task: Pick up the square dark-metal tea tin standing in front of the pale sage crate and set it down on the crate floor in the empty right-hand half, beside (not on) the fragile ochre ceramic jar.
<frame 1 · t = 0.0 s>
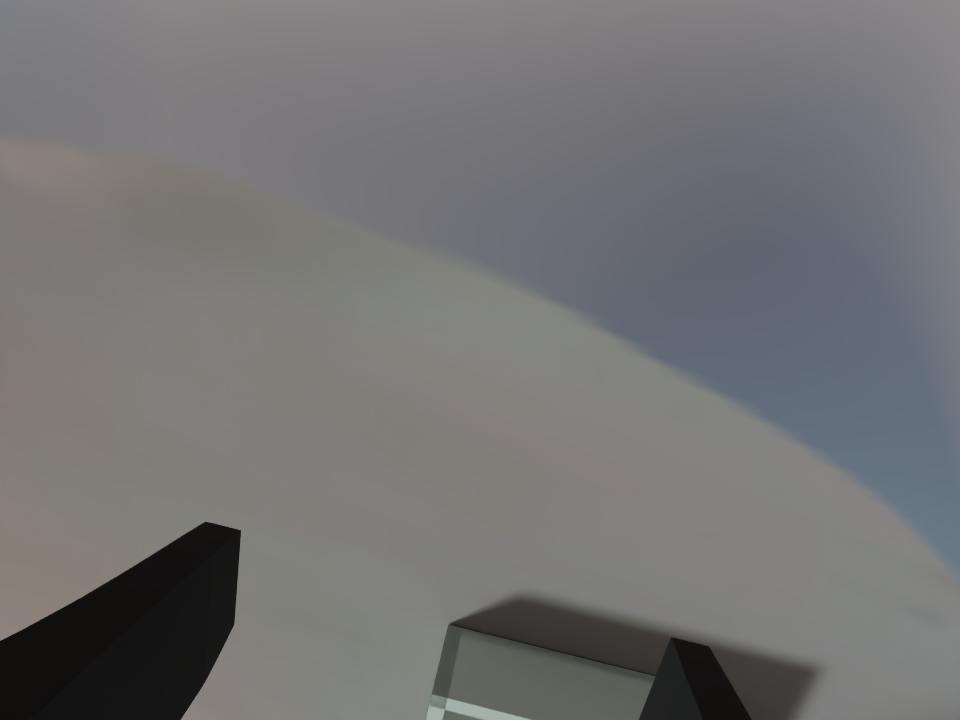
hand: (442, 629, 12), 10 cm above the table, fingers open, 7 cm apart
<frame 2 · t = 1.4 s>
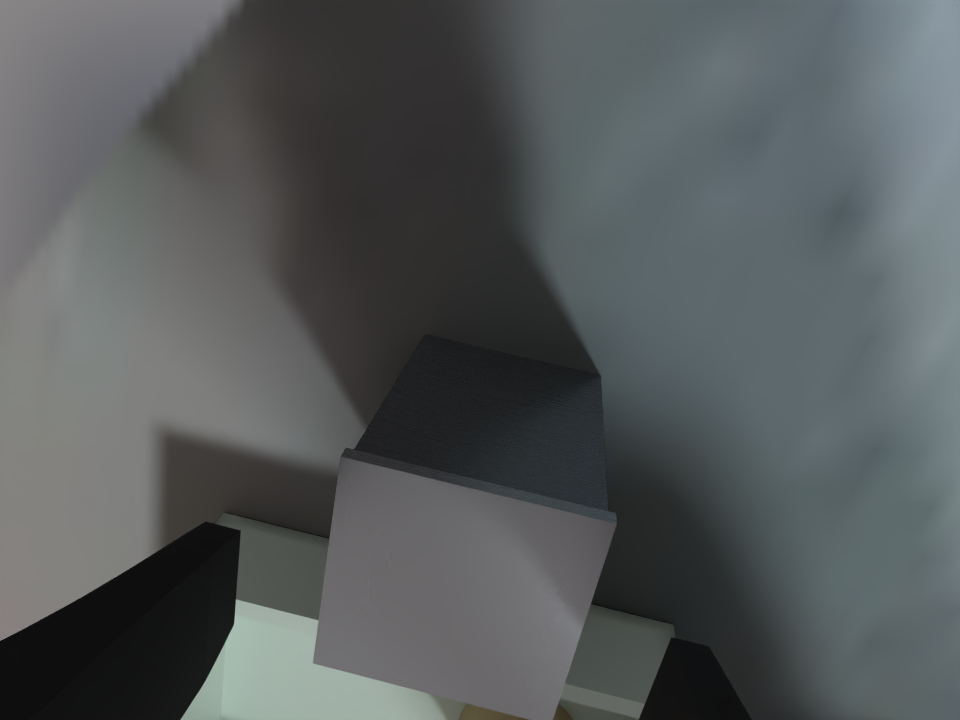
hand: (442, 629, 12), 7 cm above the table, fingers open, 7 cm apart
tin: (494, 432, 18), on the table
crate: (417, 695, 22), on the table
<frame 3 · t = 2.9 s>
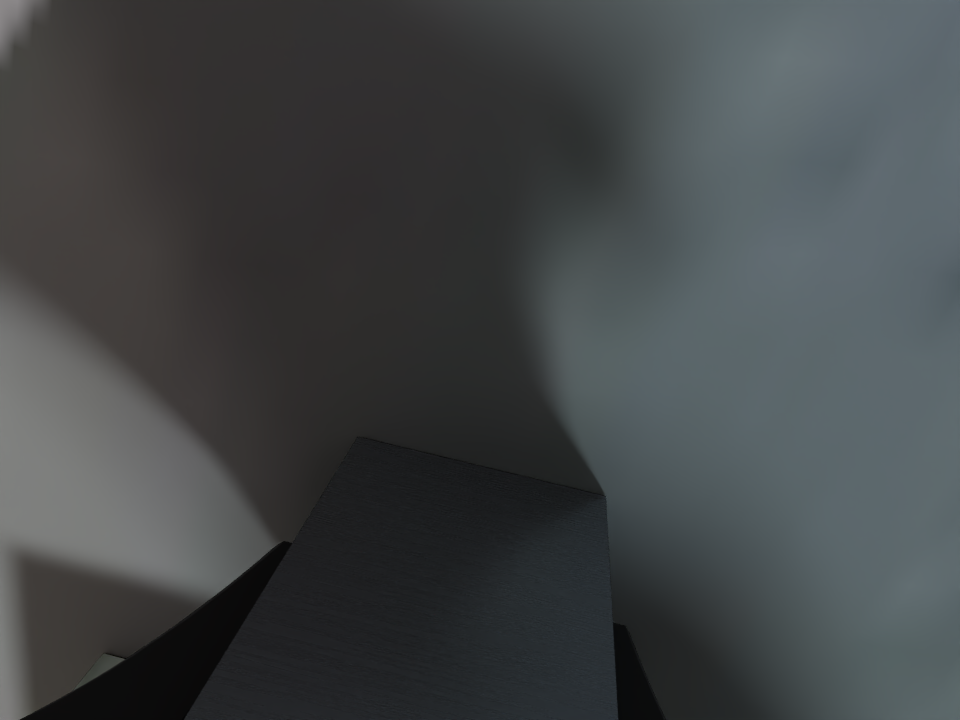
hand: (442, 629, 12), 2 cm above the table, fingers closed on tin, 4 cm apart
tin: (458, 566, 13), on the table, touching gripper
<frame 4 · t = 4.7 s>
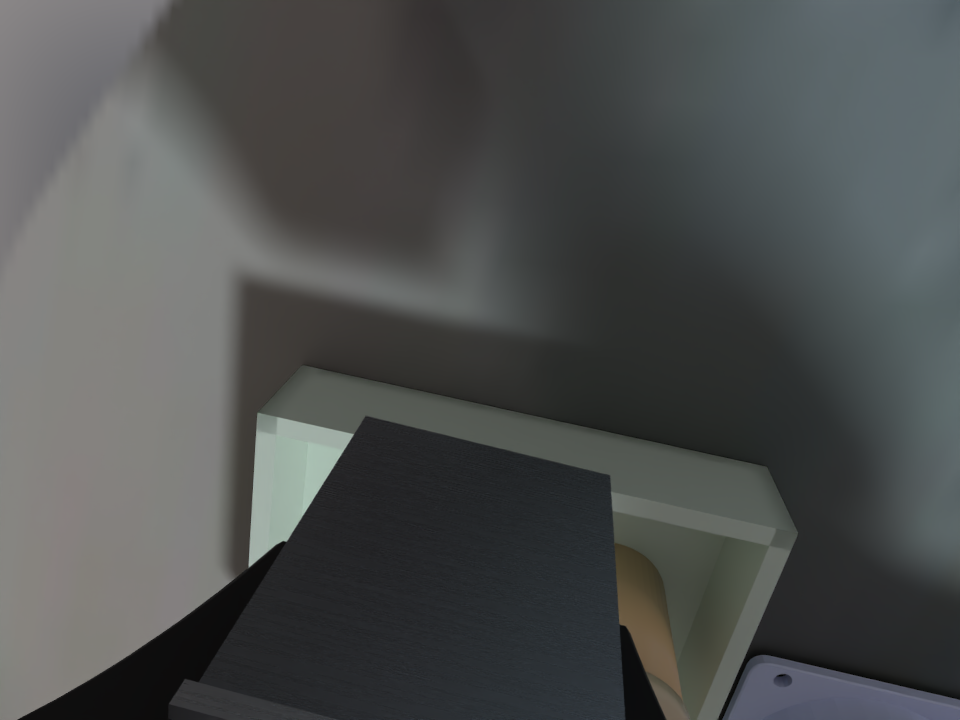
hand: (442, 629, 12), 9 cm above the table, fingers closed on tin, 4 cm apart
jar: (601, 592, 21), resting on crate
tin: (463, 544, 13), point 7 cm above the table, touching gripper
crate: (497, 559, 21), on the table
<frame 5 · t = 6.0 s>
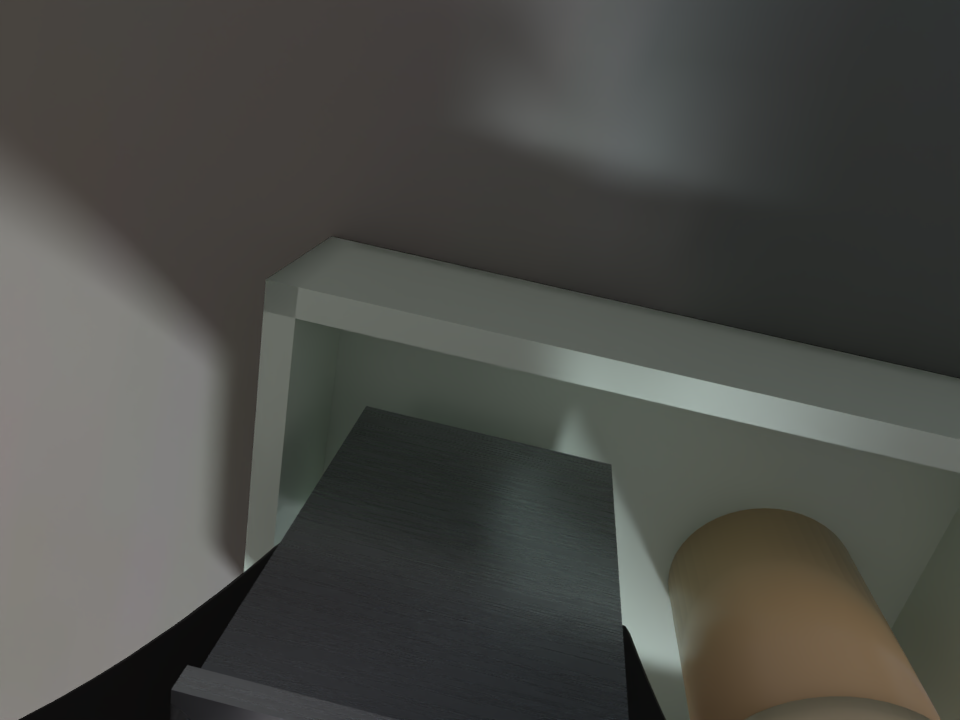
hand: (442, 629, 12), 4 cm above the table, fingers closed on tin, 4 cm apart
jar: (759, 583, 14), resting on crate
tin: (465, 534, 13), point 2 cm above the table, touching gripper
crate: (603, 534, 15), on the table
when the fingers open (4 cm above the table, at t = 6.8 s): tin drops 1 cm, resting on crate.
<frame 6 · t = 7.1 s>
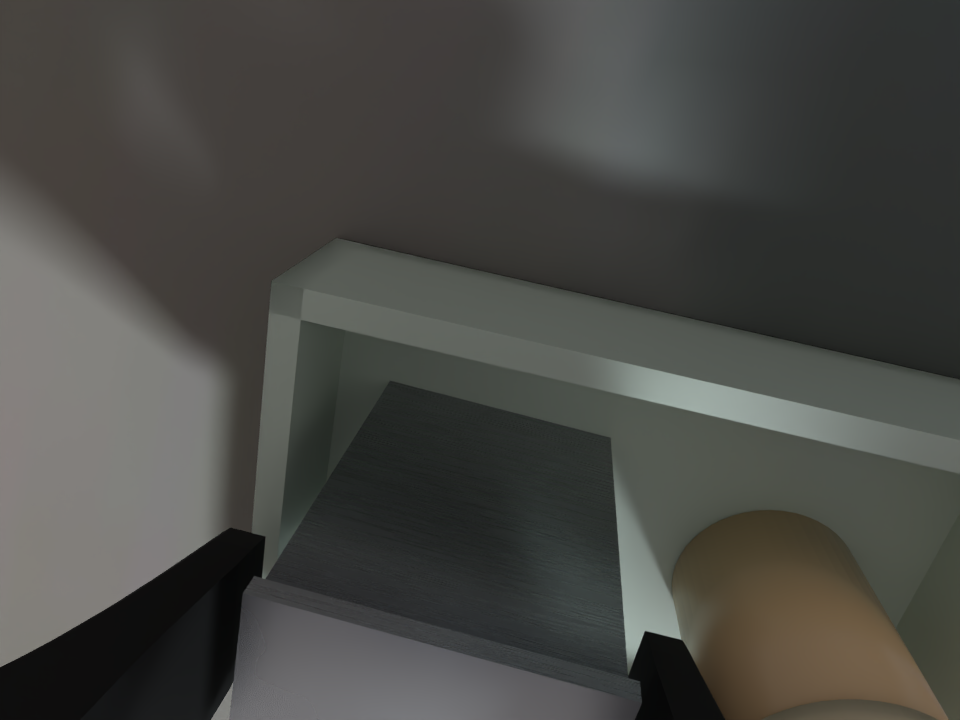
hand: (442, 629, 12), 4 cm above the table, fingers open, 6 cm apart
jar: (762, 585, 14), resting on crate, touching gripper
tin: (475, 501, 15), resting on crate
crate: (607, 535, 15), on the table
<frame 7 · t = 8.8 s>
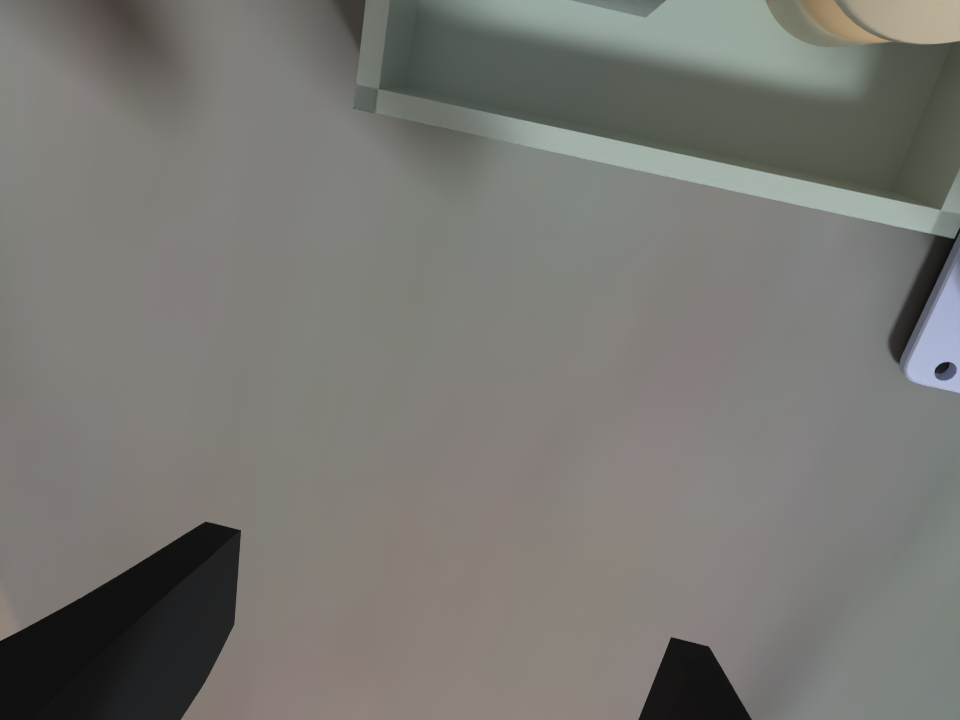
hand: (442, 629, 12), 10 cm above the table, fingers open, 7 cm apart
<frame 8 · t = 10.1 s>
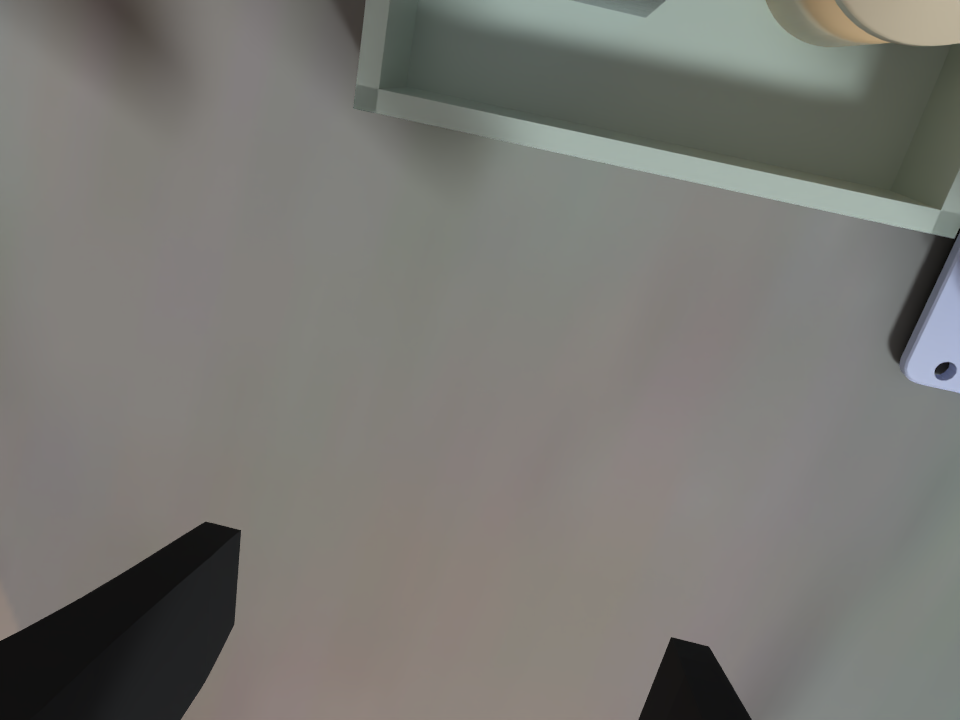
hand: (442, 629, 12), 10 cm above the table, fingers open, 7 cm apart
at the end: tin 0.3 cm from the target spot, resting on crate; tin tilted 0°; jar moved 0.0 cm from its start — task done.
